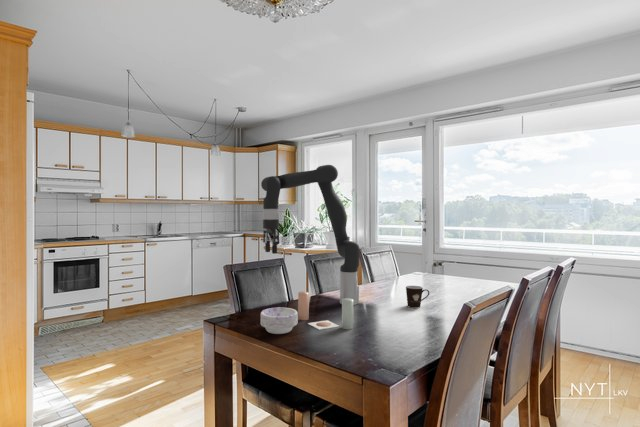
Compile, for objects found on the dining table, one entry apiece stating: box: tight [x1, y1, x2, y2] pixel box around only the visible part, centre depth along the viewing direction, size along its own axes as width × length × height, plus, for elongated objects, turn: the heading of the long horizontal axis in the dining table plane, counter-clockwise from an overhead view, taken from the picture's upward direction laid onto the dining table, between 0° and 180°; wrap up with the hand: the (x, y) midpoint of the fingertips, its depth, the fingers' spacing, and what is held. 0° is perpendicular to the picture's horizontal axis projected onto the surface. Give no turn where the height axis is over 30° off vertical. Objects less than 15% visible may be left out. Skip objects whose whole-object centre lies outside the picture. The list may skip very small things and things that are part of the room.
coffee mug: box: [405, 285, 430, 308], centre depth 207 cm, size 12×9×10 cm
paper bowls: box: [260, 306, 299, 335], centre depth 164 cm, size 15×15×8 cm
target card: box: [307, 319, 340, 331], centre depth 172 cm, size 10×10×1 cm
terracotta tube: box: [297, 291, 310, 321], centre depth 182 cm, size 5×5×12 cm
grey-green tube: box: [341, 298, 354, 331], centre depth 168 cm, size 5×5×12 cm
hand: (271, 252), depth 189 cm, fingers open, 8 cm apart
